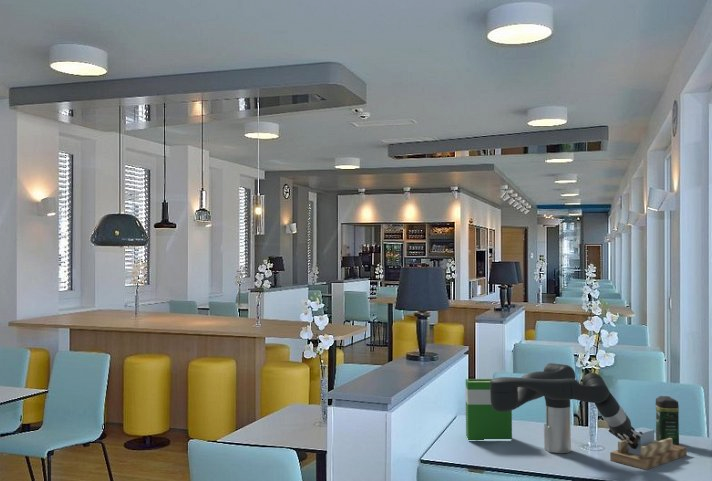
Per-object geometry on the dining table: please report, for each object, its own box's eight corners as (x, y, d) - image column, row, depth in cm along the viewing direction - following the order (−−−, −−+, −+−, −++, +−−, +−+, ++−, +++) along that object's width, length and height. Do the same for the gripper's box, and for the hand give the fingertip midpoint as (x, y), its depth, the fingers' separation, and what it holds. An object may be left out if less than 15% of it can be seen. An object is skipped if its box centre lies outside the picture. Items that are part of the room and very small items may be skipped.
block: (641, 456, 252) (640, 433, 252) (628, 452, 256) (628, 430, 256) (654, 451, 258) (654, 429, 258) (641, 448, 262) (641, 427, 262)
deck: (646, 469, 246) (645, 449, 246) (610, 460, 257) (610, 441, 257) (686, 455, 263) (686, 436, 263) (651, 447, 274) (651, 429, 274)
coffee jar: (681, 447, 273) (681, 399, 273) (660, 446, 274) (659, 399, 275) (674, 441, 283) (673, 394, 283) (653, 440, 284) (653, 394, 284)
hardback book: (508, 436, 291) (508, 379, 291) (512, 441, 283) (511, 382, 284) (466, 436, 292) (465, 379, 292) (468, 441, 284) (467, 382, 285)
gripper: (594, 422, 250) (614, 451, 257) (627, 429, 239) (648, 459, 246) (603, 405, 253) (622, 434, 260) (636, 412, 243) (656, 442, 250)
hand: (635, 446), depth 253 cm, fingers closed
